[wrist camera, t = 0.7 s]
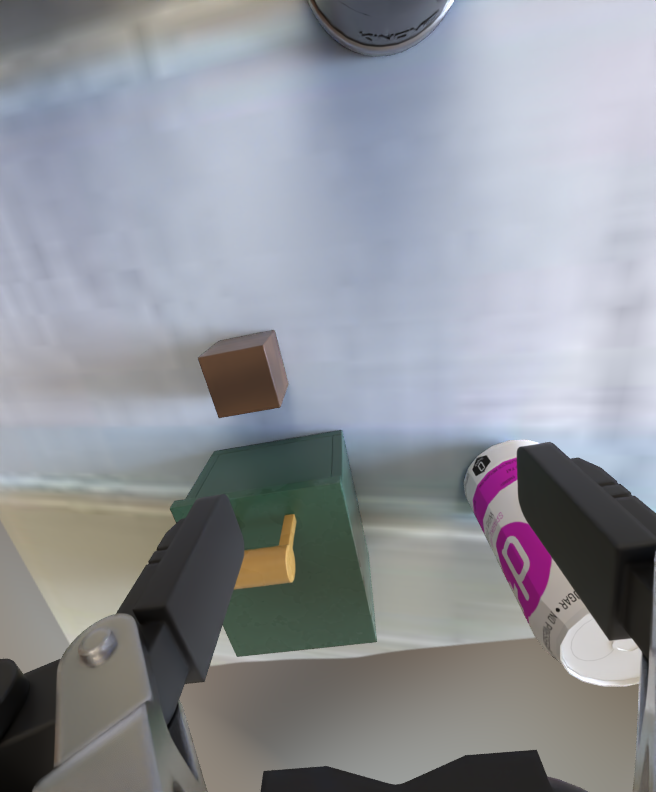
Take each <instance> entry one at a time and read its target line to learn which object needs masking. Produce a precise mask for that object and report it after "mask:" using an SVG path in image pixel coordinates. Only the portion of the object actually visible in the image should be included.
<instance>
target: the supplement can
mask: <svg viewBox="0 0 656 792" xmlns="http://www.w3.org/2000/svg"><path fill="white" fill-rule="evenodd" d="M534 444H540V443H537V442H533V441H530V440H509V441H506V442H503V443H500V444H497V445H494V446H491V447H490V448H488V449H487V450H486V451H484V452H483V453H481V454H480V455H478V456H477V457H476V459H475V460H474V461H473V463H472V464H471V465H470V467H469V468H468V470H467V473H466V476H465V480H464V489H465V496H466V498H467V500H468V502H469V504H470V506H471V508H472V510H473V512H474V514H475V516H476V518H477V520H478V522H479V524H480V526H481V528H482V530H483V532H484V534H485V536H486V538H487V540H488V542H489V544H490V546H491V548H492V551H493V553H494V555H495V557H496V559H497V561H498V563H499V565H500V567H501V569H502V571H503V573H504V575H505V577H506V579H507V581H508V583H509V585H510V587H511V589H512V591H513V593H514V595H515V597H516V599H517V601H518V603H519V605H520V607H521V609H522V611H523V613H524V615H525V617H526V619H527V621H528V623H529V625H530V627H531V629H532V631H533V634H534V635H535V637H536V639H537V640H538V641H539V643H540V645H541V646H542V647H543V649H544V650H545V651H546V652H548V653H549V654H550V655H551V656H552V657H554V658H555V659H556V660H557V661H558V662H560V663H561V664H562V665H563V666H564V667H565V669H566V670H567V672H568V673H569V674H571V675H573V676H574V677H576V678H578V679H579V680H581V681H583V682H586V683H590V684H595V685H600V686H629V685H634V684H639V680H640V661H641V654H642V651H641V650H640V649H639V647H638V646H637V645H636V643H635V642H634V641H633V639H632V638H631V639H622V640H612V641H609V640H608V638H607V637H606V635H605V634H604V633H603V631H602V630H601V628H600V627H599V625H598V624H597V622H596V621H595V619H594V618H593V617H592V615H591V614H590V612H589V611H588V609H587V608H586V606H585V605H584V604H583V602H582V601H581V599H580V598H579V596H578V595H577V593H576V592H575V590H574V589H573V588H572V586H571V585H570V583H569V582H568V580H567V579H566V577H565V576H564V575H563V573H562V572H561V570H560V569H559V567H558V566H557V564H556V563H555V561H554V560H553V559H552V557H551V556H550V554H549V553H548V551H547V550H546V548H545V547H544V546H543V544H542V543H541V541H540V540H539V538H538V537H537V535H536V534H535V533H534V531H533V530H532V528H531V527H530V525H529V524H528V522H527V521H526V519H525V517H524V515H523V513H522V511H521V508H520V504H519V500H518V483H517V449H518V448H519V447H521V446H528V445H534Z"/></svg>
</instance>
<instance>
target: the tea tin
mask: <svg viewBox="0 0 656 792" xmlns="http://www.w3.org/2000/svg"><path fill="white" fill-rule="evenodd" d="M334 476H341V480H342V485H343V489H344V493H345V498H346V502H347V507H348V511H349V515H350V520H351V524H352V529H353V533H354V538H355V542H356V546H357V551H358V555H359V560H360V564H361V568H362V573H363V577H364V582H365V586H366V590H367V595H368V599H369V604H370V608H371V612H372V617H373V621H374V626H375V616H374V605H373V594H372V584H371V573H370V562H369V554H368V550H367V545H366V540H365V535H364V531H363V526H362V521H361V517H360V512H359V507H358V503H357V498H356V493H355V489H354V484H353V479H352V474H351V470H350V465H349V460H348V456H347V451H346V446H345V442H344V437H343V432H342V430H339V431H333V432H327V433H321V434H315V435H309V436H303V437H297V438H291V439H285V440H279V441H273V442H267V443H261V444H255V445H249V446H243V447H237V448H231V449H225V450H219V451H214V453H213V454H212V456H211V457H210V459H209V461H208V462H207V464H206V466H205V467H204V469H203V471H202V472H201V474H200V476H199V477H198V479H197V481H196V482H195V484H194V486H193V487H192V489H191V491H190V492H189V494H188V496H187V497H186V499H191V498H198V497H204V496H211V495H217V494H224V493H230V492H237V491H243V490H250V489H256V488H263V487H269V486H276V485H282V484H289V483H295V482H302V481H308V480H315V479H321V478H328V477H334ZM375 630H376V627H375Z"/></svg>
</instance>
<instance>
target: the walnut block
mask: <svg viewBox="0 0 656 792" xmlns="http://www.w3.org/2000/svg"><path fill="white" fill-rule="evenodd" d="M198 360H199V363H200V366H201V369H202V372H203V374H204V377H205V380H206V383H207V386H208V389H209V392H210V394H211V397H212V400H213V403H214V406H215V409H216V412H217V414H218V417H219V418H222V417H228V416H234V415H239V414H245V413H251V412H256V411H262V410H268V409H273V408H279V407H281V404H282V401H283V398H284V395H285V393H286V390H287V387H288V380H287V376H286V372H285V368H284V364H283V361H282V357H281V353H280V349H279V345H278V342H277V338H276V334H275V330H271V331H266V332H261V333H256V334H251V335H246V336H241V337H236V338H231V339H226V340H221V341H218V342H217V343H216V344H214V345H213V346H212V347H211V348H209V349H208V350H207V351H206V352H205V353H203V354H202V355H201V356H200V357H198Z"/></svg>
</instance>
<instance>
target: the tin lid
mask: <svg viewBox="0 0 656 792" xmlns="http://www.w3.org/2000/svg"><path fill="white" fill-rule="evenodd" d="M224 494H225V495H227V497H228V498H229V500H230V503H231V506H232V508H233V511H234V514H235V516H236V519H237V522H238V524H239V527H240V530H241V533H242V535H243V539H244V558H243V562H242V565H241V568H240V571H239V574H238V578H237V581H236V584H235V587H234V590H233V593H232V596H231V600H230V603H229V606H228V609H227V612H226V615H225V619H224V622H223V627H224V629H225V631H226V634H227V636H228V638H229V640H230V642H231V645H232V647H233V649H234V651H235V653H236V656H237V657H240V656H249V655H259V654H268V653H278V652H287V651H297V650H306V649H316V648H325V647H335V646H344V645H354V644H363V643H373V642H377V637H376V630H375V626H374V621H373V617H372V612H371V608H370V604H369V599H368V595H367V590H366V586H365V582H364V577H363V573H362V568H361V564H360V560H359V555H358V551H357V546H356V542H355V538H354V533H353V529H352V524H351V520H350V515H349V511H348V507H347V502H346V498H345V493H344V489H343V485H342V480H341V476H334V477H328V478H321V479H315V480H308V481H302V482H295V483H289V484H282V485H276V486H269V487H263V488H256V489H250V490H243V491H237V492H230V493H224ZM217 495H220V494H217ZM211 496H214V495H211ZM204 497H208V496H204ZM198 498H202V497H198ZM198 498H191V499H185V500H178V501H174V503H173V504H172V506H171V507H170V510H171V512H172V515H173V517H174V519H175V521H176V523H177V522H178V521H179V520H180V519H184V518H186V516H187V514H188V513H189V511H190V509H191V508H192V506H193V504H194V502H195V501H196V500H197V499H198Z"/></svg>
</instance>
